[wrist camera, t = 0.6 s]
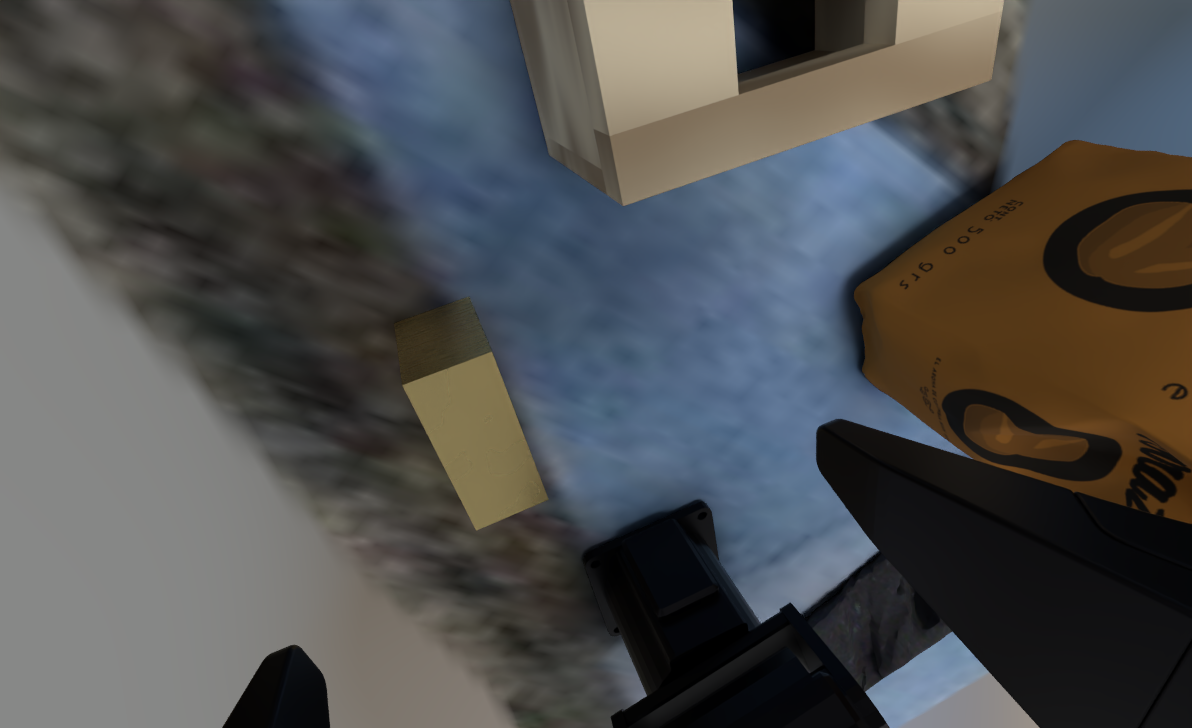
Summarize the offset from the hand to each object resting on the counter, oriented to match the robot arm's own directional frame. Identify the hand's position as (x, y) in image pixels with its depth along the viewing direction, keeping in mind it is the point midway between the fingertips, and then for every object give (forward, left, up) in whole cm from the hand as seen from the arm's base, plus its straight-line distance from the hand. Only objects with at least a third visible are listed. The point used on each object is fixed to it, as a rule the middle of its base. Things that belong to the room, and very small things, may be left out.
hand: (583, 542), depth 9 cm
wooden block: (-3, +1, -12) cm, 12 cm away
